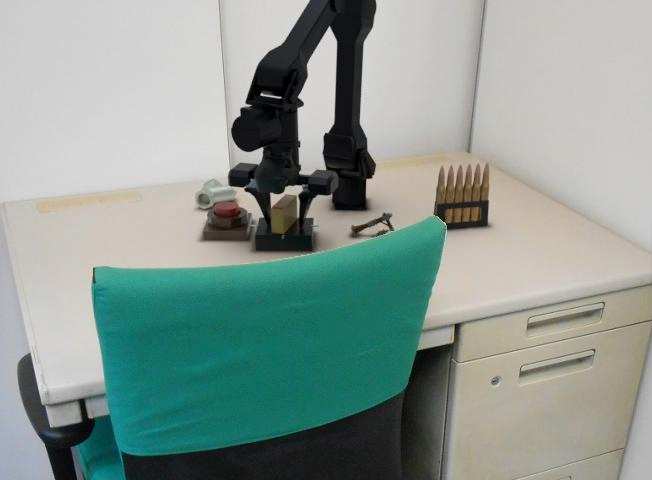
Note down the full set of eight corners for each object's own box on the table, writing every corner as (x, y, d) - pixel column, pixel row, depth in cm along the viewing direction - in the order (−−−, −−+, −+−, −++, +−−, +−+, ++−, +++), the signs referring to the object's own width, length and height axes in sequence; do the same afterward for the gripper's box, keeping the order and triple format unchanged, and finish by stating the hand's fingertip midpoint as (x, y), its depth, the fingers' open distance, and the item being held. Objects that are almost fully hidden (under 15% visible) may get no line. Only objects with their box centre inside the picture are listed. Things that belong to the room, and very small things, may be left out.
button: (240, 210, 157) (240, 201, 156) (238, 218, 154) (237, 209, 153) (217, 210, 157) (216, 201, 156) (214, 218, 153) (213, 209, 153)
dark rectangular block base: (319, 230, 158) (319, 213, 156) (318, 254, 148) (317, 237, 146) (255, 229, 158) (254, 213, 156) (248, 254, 147) (247, 237, 146)
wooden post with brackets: (399, 233, 154) (390, 211, 152) (359, 248, 156) (350, 227, 154) (400, 230, 156) (390, 208, 154) (360, 245, 158) (351, 224, 156)
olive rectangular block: (286, 217, 155) (285, 192, 152) (297, 218, 154) (296, 193, 152) (271, 232, 148) (270, 207, 145) (283, 234, 148) (282, 208, 145)
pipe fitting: (237, 199, 173) (205, 195, 173) (238, 181, 171) (205, 177, 171) (228, 212, 166) (195, 208, 166) (228, 193, 164) (195, 189, 164)
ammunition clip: (484, 222, 163) (490, 161, 156) (487, 226, 161) (493, 164, 155) (432, 226, 160) (435, 164, 154) (435, 230, 159) (439, 167, 152)
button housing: (252, 221, 161) (251, 203, 159) (247, 240, 153) (246, 222, 151) (210, 220, 161) (209, 203, 159) (203, 240, 153) (201, 221, 151)
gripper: (212, 146, 138) (219, 236, 146) (320, 155, 134) (322, 247, 143) (236, 129, 147) (242, 215, 155) (339, 137, 143) (339, 225, 152)
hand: (285, 225), depth 151 cm, fingers open, 6 cm apart
